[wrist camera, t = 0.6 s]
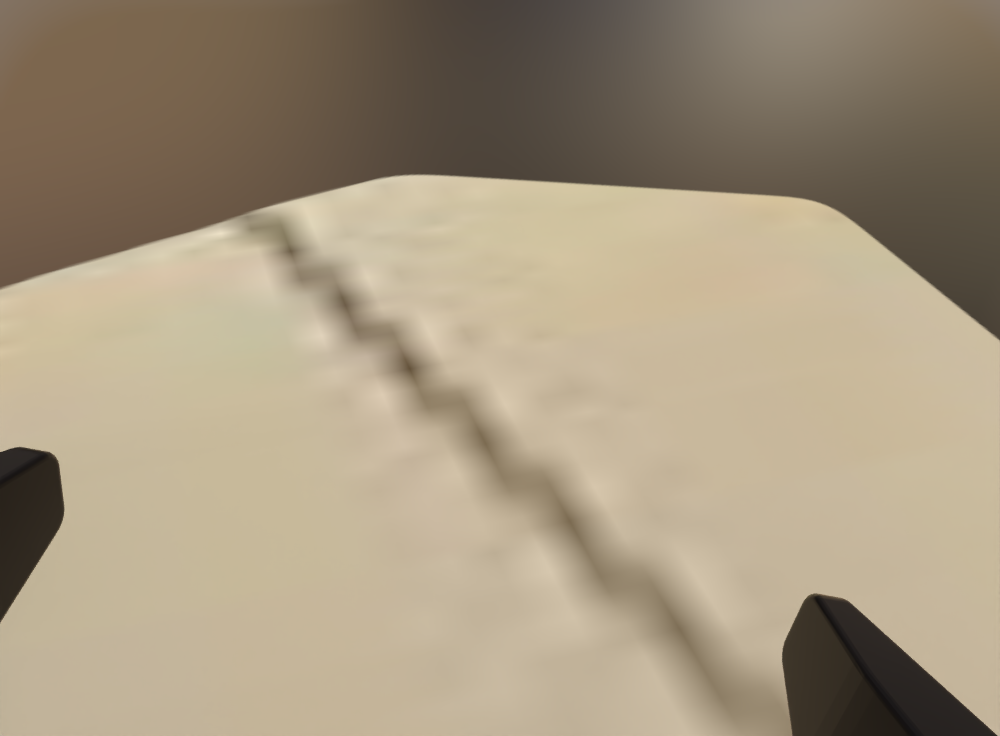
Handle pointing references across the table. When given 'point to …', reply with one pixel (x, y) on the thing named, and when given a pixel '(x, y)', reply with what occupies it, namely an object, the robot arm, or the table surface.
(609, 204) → the table surface
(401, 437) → the table surface
